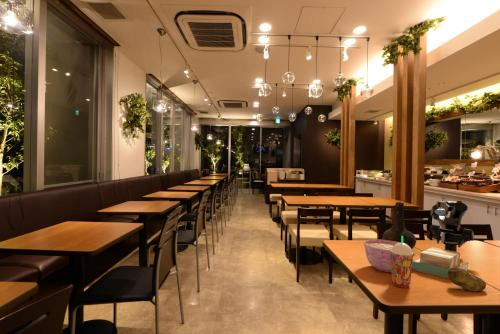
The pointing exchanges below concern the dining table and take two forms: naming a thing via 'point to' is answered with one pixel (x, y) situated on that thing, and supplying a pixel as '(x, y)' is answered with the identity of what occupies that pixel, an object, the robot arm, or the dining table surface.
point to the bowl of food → (379, 253)
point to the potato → (466, 279)
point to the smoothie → (401, 264)
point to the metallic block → (440, 258)
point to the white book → (434, 268)
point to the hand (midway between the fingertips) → (448, 245)
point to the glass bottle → (399, 228)
